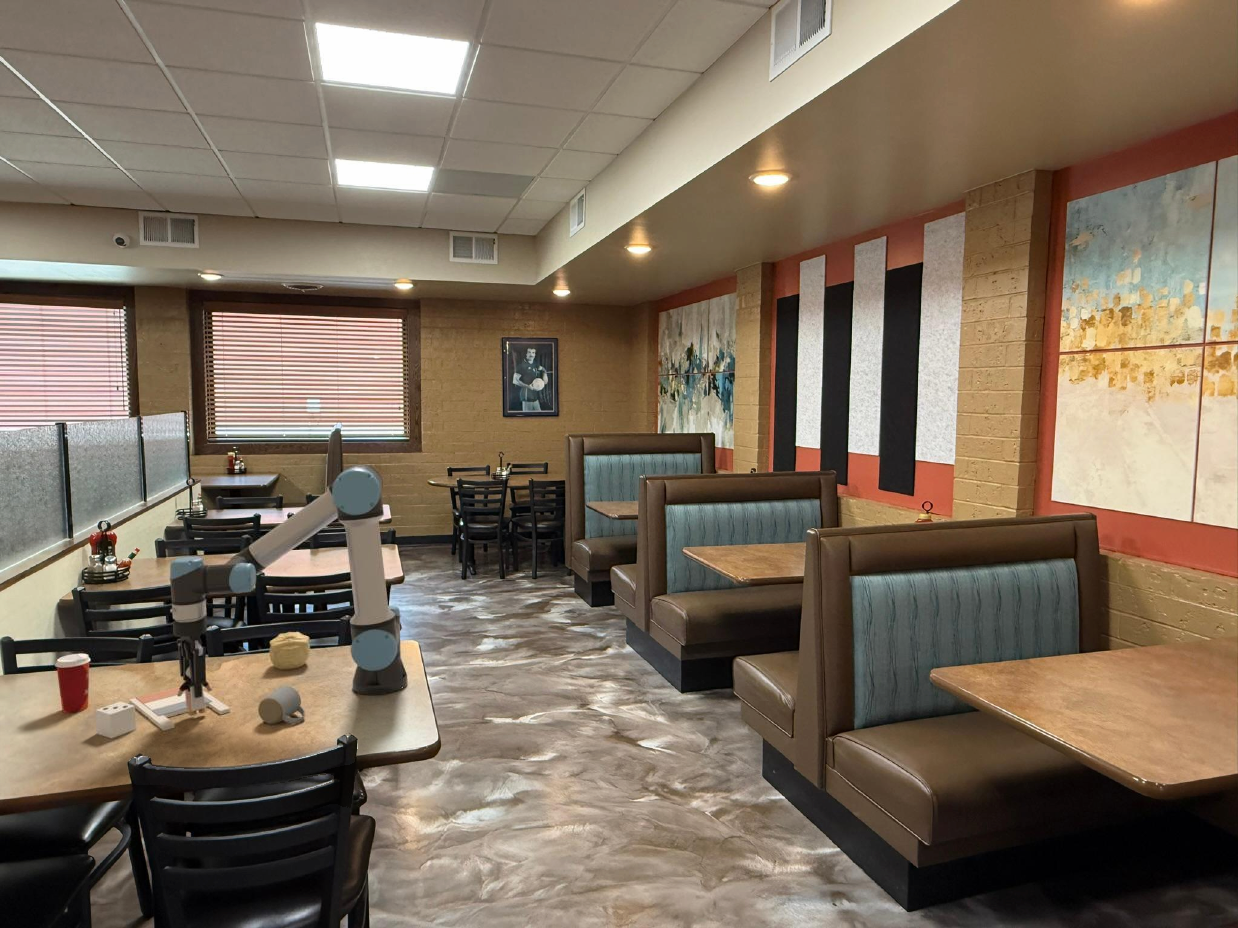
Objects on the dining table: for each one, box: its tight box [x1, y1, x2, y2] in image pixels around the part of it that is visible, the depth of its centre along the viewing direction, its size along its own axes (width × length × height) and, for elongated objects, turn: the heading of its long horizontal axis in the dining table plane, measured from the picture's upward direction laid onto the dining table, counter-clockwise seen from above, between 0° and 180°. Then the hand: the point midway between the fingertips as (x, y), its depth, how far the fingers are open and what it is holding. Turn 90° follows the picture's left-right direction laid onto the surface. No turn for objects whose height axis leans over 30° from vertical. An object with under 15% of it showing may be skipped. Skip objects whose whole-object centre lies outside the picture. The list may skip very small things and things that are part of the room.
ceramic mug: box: [258, 685, 306, 725], centre depth 201 cm, size 11×8×8 cm
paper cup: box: [54, 653, 91, 714], centre depth 207 cm, size 8×8×14 cm
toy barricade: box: [129, 685, 231, 731], centre depth 209 cm, size 26×16×1 cm, turn 48°
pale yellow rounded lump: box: [269, 631, 311, 670], centre depth 241 cm, size 12×12×11 cm
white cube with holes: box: [95, 701, 137, 739], centre depth 194 cm, size 6×6×6 cm
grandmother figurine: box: [177, 667, 212, 717], centre depth 202 cm, size 8×4×13 cm, turn 135°
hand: (194, 706), depth 202 cm, fingers closed on grandmother figurine, 3 cm apart
